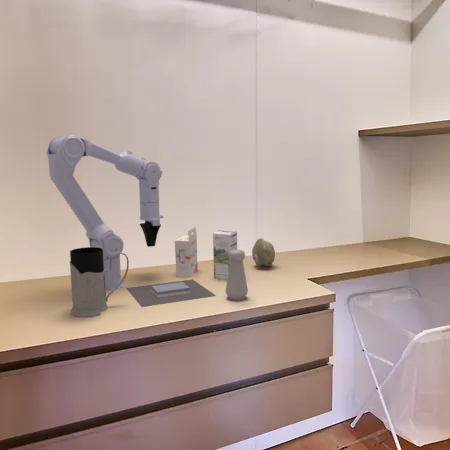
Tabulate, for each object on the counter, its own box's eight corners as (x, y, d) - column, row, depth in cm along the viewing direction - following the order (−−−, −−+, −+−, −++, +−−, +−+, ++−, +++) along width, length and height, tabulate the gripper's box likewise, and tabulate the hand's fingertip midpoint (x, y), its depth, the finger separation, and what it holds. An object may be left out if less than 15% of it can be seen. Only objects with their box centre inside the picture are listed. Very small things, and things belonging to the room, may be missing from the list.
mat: (141, 308, 110) (141, 306, 110) (126, 289, 126) (126, 288, 126) (216, 297, 118) (216, 295, 118) (192, 280, 134) (192, 279, 134)
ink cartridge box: (183, 270, 146) (182, 226, 144) (197, 271, 145) (197, 226, 143) (175, 277, 138) (173, 230, 136) (190, 278, 137) (189, 230, 135)
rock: (262, 272, 143) (262, 241, 142) (244, 267, 150) (244, 238, 148) (282, 267, 150) (282, 237, 148) (263, 262, 156) (263, 234, 154)
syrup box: (238, 276, 138) (237, 230, 136) (230, 281, 133) (229, 233, 130) (221, 275, 140) (220, 229, 138) (213, 279, 135) (212, 232, 133)
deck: (151, 291, 122) (157, 298, 117) (151, 286, 122) (157, 292, 116) (182, 287, 126) (190, 293, 120) (182, 282, 125) (190, 287, 120)
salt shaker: (240, 304, 112) (240, 253, 110) (221, 300, 115) (220, 251, 113) (251, 298, 117) (251, 249, 115) (233, 294, 120) (232, 247, 118)
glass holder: (69, 308, 111) (65, 248, 109) (126, 300, 116) (124, 243, 114) (72, 319, 103) (68, 255, 101) (134, 310, 109) (131, 249, 106)
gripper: (169, 203, 130) (170, 249, 132) (155, 199, 143) (157, 241, 145) (145, 204, 127) (147, 251, 129) (133, 200, 140) (135, 243, 142)
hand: (151, 246), depth 137 cm, fingers closed
